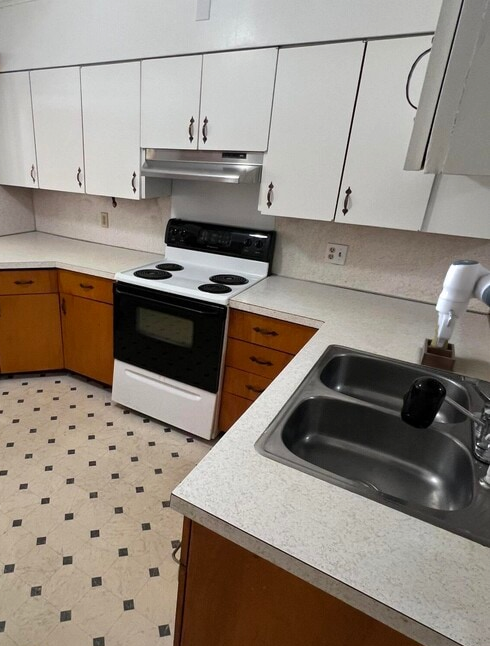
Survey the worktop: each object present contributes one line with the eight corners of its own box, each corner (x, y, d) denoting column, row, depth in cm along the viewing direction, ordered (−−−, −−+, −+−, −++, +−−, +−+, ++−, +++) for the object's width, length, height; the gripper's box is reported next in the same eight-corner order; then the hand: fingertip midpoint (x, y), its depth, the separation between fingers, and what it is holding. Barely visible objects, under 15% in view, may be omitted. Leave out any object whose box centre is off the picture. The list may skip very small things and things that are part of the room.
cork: (437, 350, 156) (446, 322, 152) (450, 357, 151) (459, 328, 147) (422, 351, 155) (431, 322, 151) (435, 358, 150) (444, 328, 146)
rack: (450, 355, 155) (454, 344, 153) (451, 372, 141) (455, 360, 139) (422, 349, 159) (425, 338, 157) (420, 365, 145) (424, 352, 143)
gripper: (463, 316, 137) (450, 355, 142) (461, 302, 153) (449, 337, 158) (440, 312, 139) (428, 350, 145) (441, 298, 156) (429, 333, 161)
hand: (439, 343), depth 151 cm, fingers closed on cork, 5 cm apart
